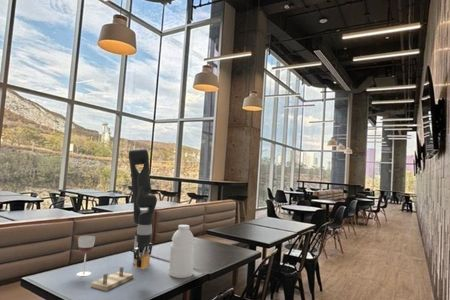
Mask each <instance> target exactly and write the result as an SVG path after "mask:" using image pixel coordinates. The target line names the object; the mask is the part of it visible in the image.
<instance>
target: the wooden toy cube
mask: <svg viewBox="0 0 450 300" xmlns="http://www.w3.org/2000/svg"><path fill="white" fill-rule="evenodd" d="M136 257H137V256H136ZM139 258H140V255H139ZM150 260H151V255H147V254H144V255H143V256H142V259H141V267H140V268H139V267H137V260H136V259H135V264H134V268H136V269H140V270H145V269H146V268H149V267H150V262H151V261H150Z"/></svg>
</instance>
